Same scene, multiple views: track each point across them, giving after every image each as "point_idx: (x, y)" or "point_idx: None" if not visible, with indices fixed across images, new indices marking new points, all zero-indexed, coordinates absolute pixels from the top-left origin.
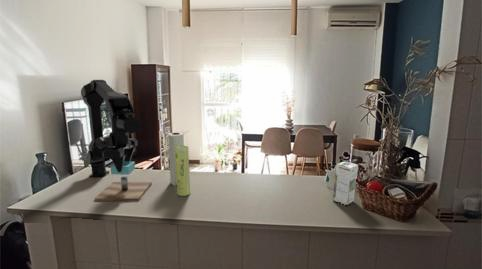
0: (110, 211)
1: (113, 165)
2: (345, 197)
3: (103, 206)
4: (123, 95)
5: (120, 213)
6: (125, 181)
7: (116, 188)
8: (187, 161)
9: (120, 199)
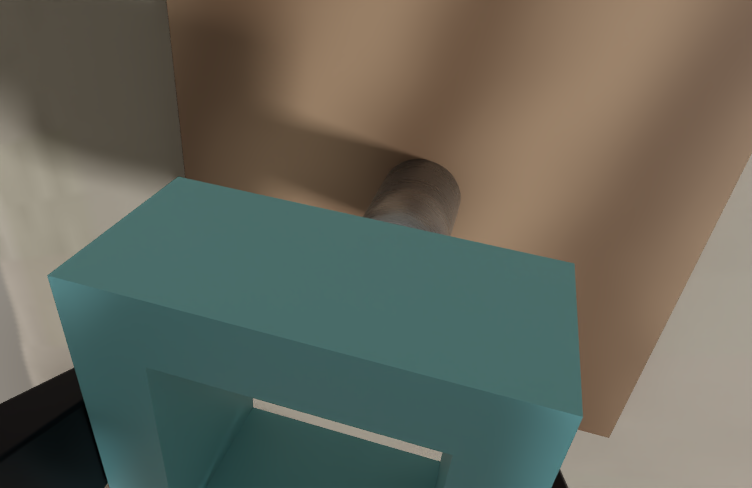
0: (7, 127)
1: (160, 333)
2: None
3: (68, 30)
4: None
5: (5, 209)
6: None
7: (482, 77)
8: None
9: (193, 179)
